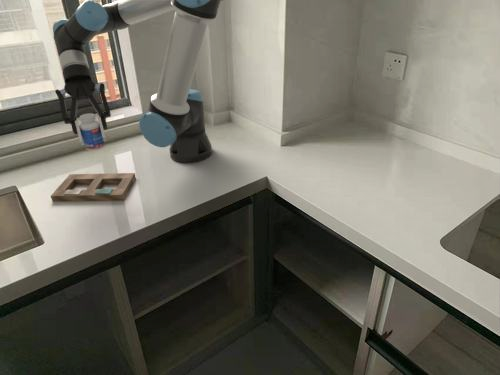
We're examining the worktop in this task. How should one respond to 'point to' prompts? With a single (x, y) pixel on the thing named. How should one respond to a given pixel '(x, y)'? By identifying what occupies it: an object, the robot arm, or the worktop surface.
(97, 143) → the pill bottle
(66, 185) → the socket plate
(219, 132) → the worktop surface
